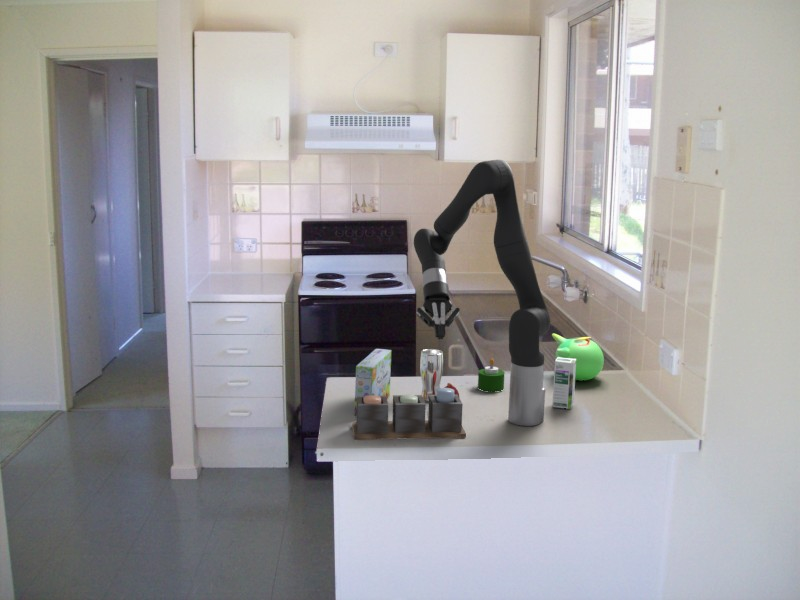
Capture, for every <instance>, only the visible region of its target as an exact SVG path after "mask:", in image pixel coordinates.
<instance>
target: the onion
mask: <svg viewBox="0 0 800 600" xmlns="http://www.w3.org/2000/svg"><path fill="white" fill-rule="evenodd" d="M443 388H451V389H453V390H454V394H457V395H458V397H459V398H460V394H459V391H458V389H457V387H455V386H454V385H453V384H452V383H451V382H448V383H447V385H446V386H444V387H443Z"/></svg>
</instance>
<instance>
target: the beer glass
mask: <svg viewBox="0 0 800 600" xmlns="http://www.w3.org/2000/svg"><path fill="white" fill-rule="evenodd" d="M419 363H420V364H419V366H420V367H419V368H420V369H419V373H420V378H421V385H422V386H421V387H422V391H421V393H420V395H422V397H423V399H424V402H425V403H426V402H427V403H429V395H437V389H439V388H441V387H440V386H441V380H442V377H443V371H444V352H443V351H442V350H440V349H437V348H436V349H435V348H427V349H423V350H421V351H420V361H419Z"/></svg>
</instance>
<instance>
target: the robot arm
mask: <svg viewBox="0 0 800 600" xmlns="http://www.w3.org/2000/svg"><path fill="white" fill-rule="evenodd" d="M512 170H513V169H512V168H511V167H510V165H509V163H508V162H507V161H506V160H503V159H493V160H484V161H481V162H478V163H476V164H475V165H474V166H473V167H472V169H471V170H470V172H469V174H468V175H467V176H466V178H465V180H464V182H463V184H462V185H461V187H460V188H459V190H458V192H457V193H456V195H455V196H454V197H453V199H452V200H451V202H450V203H449V204H448V205H447V207H446V208H445V209H444V210H443V211H442V212H441V213H440V214H439V215H438V216H437V218H436V219H435V220H434V222H433V229H434V230H432V229H428V228H420V229H419V230H417V231H416V233H415V234H414V237H413V248H414V251H415V253H416V256H417V258H418V260H419V262H420V264H421V273H422V277H421V278H422V283H421V284H422V285H421V288H422V295H423V304H422V306H421V307H417V310H416V316H417V317H418V318H419V319H421V321H422V322H423V323H425V325H426V326H427V327H429V328H430V327H432V328H433V329H434V336H435V338H437V340H443V339H444V338H445V337H446V327H447V328H448V327H450V326H451V325H452V323H453V322H454V321H455V320H456V318H457V317H458V316H459V313H460V308H459V307H455V306H453V303H452V301H451V298H450V291H449V281H448V276H447V275H448V274H447V270H446V262H445V258H443V257H444V256H442V255H444V254H445V253H446V252H447V250H448V248H449V246H450V244H451V242H452V239H453V237H454V235H455V234H456V233H458V231H459V230H460V229H461V228H462V227H463V226H464V224H465V223H466V222H467V220H468V219H469V216H470V212H471V209H472V207H473V206H474V204H475V203H477V202H478V201H479V200H480V199H482V198H483V197H484V196H486V195H493V199H494V202H495V207H496V208H495V209H496V221H495V226H494V233H493V246H494V250H495V254H496V259H497V261H498V264H499V267H500V269H501V271H502V272H503V274H504V276H505V277H506V278H507V280H508V281H509V282H510V284H511V285H512V287H513V289H514V291H515V294H516V297H517V301H518V306H519V309H517V310H515V311H514V312H513V313H512V315H510V316H511V317H510V319H509V324H508V352H509V355H510V373H509V374H510V376H509V378H510V379H509V382H510V383H509V396H508V397H509V399H508V415H507V417H508V418H507V419H508V422H510V423H511V424H513V425H517V426H524V427H531V426H537V425H539V424H541V423H542V422H544V419H545V418H544V417H545V404H546V403H545V401H546V400H545V399H546V389H545V388H544V372H545V371H544V370H545V354H544V353H543V352H542V351H540V337H542V336H545V335H546V334H547V333H548V332H549V330H550V327H551V316H550V313H549V310H548V307H547V305H546V302H545V299H544V296H543V295H542V292H541V289H540V285H539V281H538V278H537V273H536V271H535V267H534V262H533V260H532V259H533V258H532V255H531V251H530V246H529V242H528V239H527V236H526V233H525V229H524V224H523V220H522V216H521V213H520V208H519V203H518V196H517V190H516V184H515V178H514V173H513V171H512ZM449 313H450V315H449V316H448V314H449ZM446 316H448V317H447V319H446Z"/></svg>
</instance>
